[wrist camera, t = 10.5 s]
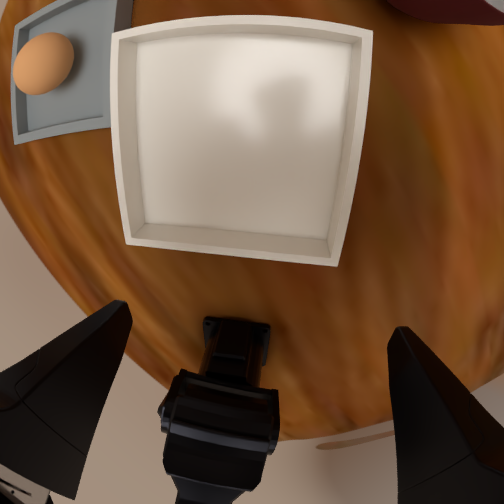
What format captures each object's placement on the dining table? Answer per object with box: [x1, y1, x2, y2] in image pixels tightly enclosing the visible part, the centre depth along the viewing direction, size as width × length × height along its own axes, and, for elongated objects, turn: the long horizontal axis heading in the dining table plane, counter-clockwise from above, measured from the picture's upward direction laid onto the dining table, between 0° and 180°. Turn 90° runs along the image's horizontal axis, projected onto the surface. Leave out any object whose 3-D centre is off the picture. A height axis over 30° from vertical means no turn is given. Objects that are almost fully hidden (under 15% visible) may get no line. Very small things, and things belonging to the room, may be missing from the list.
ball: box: [13, 32, 74, 95], centre depth 12 cm, size 5×5×5 cm
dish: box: [110, 15, 373, 267], centre depth 16 cm, size 15×15×3 cm
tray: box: [11, 0, 133, 145], centre depth 14 cm, size 12×12×2 cm
